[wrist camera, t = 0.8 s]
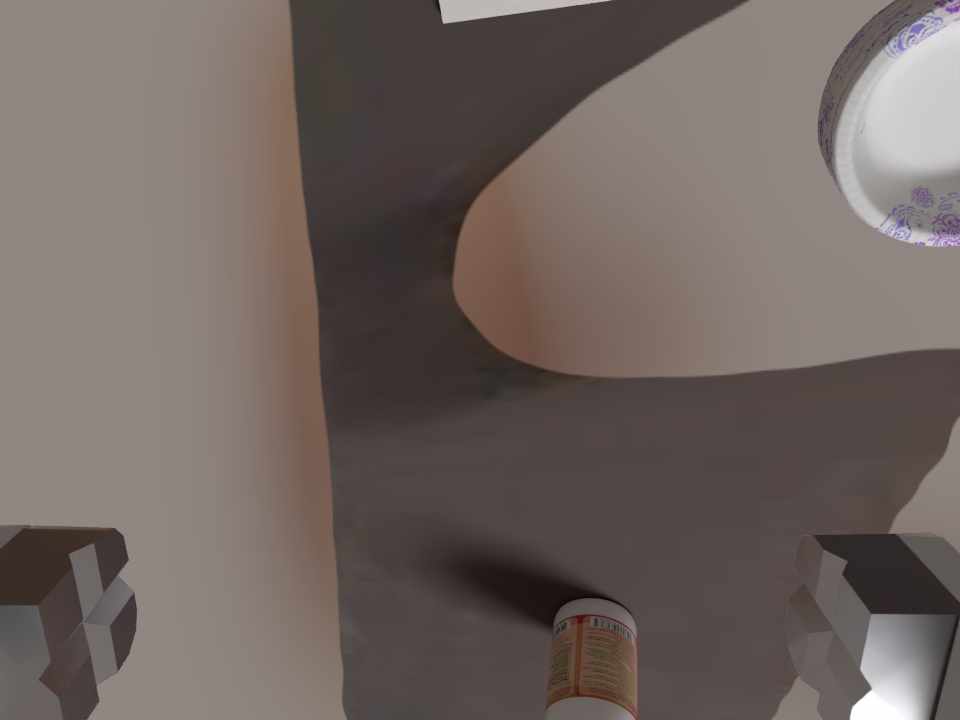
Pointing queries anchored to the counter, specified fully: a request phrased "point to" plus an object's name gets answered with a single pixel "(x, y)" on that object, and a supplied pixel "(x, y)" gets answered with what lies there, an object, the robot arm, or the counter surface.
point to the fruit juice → (592, 663)
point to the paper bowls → (899, 122)
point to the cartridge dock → (498, 7)
